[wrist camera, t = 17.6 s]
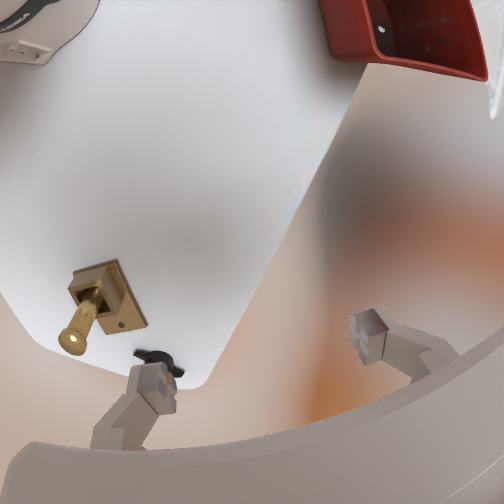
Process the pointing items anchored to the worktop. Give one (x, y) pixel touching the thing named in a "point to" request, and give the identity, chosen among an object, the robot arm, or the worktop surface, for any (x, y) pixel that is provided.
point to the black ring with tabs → (160, 357)
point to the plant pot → (407, 35)
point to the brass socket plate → (109, 297)
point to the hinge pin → (81, 323)
